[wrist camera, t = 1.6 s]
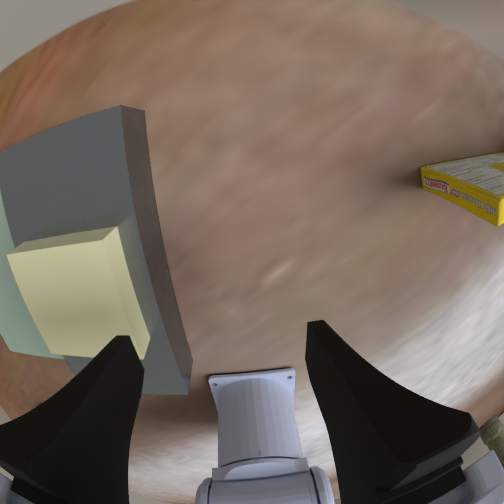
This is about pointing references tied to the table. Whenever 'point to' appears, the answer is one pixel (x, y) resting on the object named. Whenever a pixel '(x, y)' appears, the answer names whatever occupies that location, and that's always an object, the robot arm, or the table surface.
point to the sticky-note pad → (79, 291)
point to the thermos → (494, 437)
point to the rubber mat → (16, 304)
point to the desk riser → (102, 219)
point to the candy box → (470, 184)
